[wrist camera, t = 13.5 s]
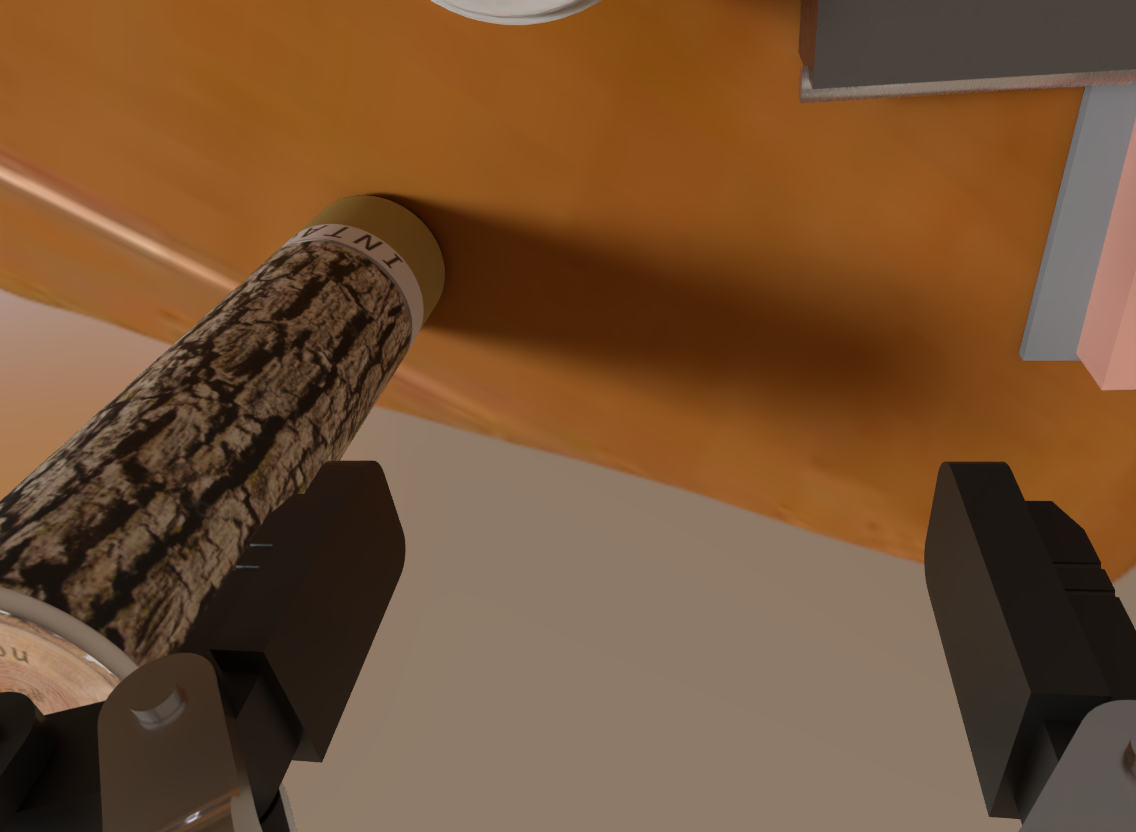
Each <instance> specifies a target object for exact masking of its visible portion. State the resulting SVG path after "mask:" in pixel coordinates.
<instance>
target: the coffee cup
mask: <svg viewBox="0 0 1136 832" xmlns="http://www.w3.org/2000/svg"><path fill="white" fill-rule="evenodd" d="M431 1H433V2H434V3H436V4H438V5H440V6H442V7H444V8H446V9H448V10H450V11H452V12H455V13H457V14H460V15H463V16H465V17H468V18H471V19H475V20H479V21H483V22H487V23H495V24H503V25H530V24H538V23H546V22H550V21H554V20H558V19H562V18H565V17H568V16H570V15H573V14H576V13H578V12H581V11H583V10H585V9H587V8H589V7H591V6H593V5H594V4H596V3H598V2H600V1H601V0H431Z"/></svg>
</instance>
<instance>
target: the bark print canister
mask: <svg viewBox="0 0 1136 832" xmlns="http://www.w3.org/2000/svg"><path fill="white" fill-rule="evenodd" d="M444 282H445V266H444V260H443V256H442V253H441V250H440V248H439V245H438V243H437V241H436V239H435V238H434V236H433V235H432V233H431V232H430V230H429V229H428V228H427V226H426V225H425V224H424V223H423V222H422V221H421V220H420V219H419V218H418V217H417V216H416V215H414V214H413V213H412V212H410V211H409V210H407V209H406V208H404V207H403V206H401V205H399V204H397V203H395V202H393V201H390V200H388V199H384V198H381V197H376V196H368V195H358V196H351V197H347V198H343V199H341V200H338V201H336V202H334V203H332V204H330V205H329V206H328V207H326V208H325V209H324V210H323V211H322V212H320V213H319V214H318V215H317V216H316V217H315V218H314V219H313V220H312V221H311V222H309V223H308V224H307V225H306V226H305V227H304V228H303V229H302V230H301V231H300V232H298V233H297V234H296V235H294V236H293V237H292V238H291V239H290V240H289V241H288V242H286V243H285V244H284V245H283V246H282V247H281V248H280V249H279V250H278V251H276V252H275V253H274V254H273V255H272V256H271V257H270V258H269V259H268V260H267V261H265V262H264V263H263V264H262V265H261V266H260V267H259V268H258V269H257V270H255V271H254V272H253V273H252V274H251V275H250V276H249V277H248V278H247V279H246V280H244V281H243V282H242V283H241V284H240V285H239V286H238V287H237V288H236V289H234V290H233V291H232V292H231V293H230V294H229V295H228V296H227V297H226V298H225V299H223V300H222V301H221V302H220V303H219V304H218V305H217V306H216V307H215V308H213V309H212V310H211V311H210V312H209V313H208V314H207V315H206V316H205V317H203V318H202V319H201V320H200V321H199V322H198V323H197V324H196V325H195V326H194V327H192V328H191V329H190V330H189V331H188V332H187V333H186V334H185V335H184V336H182V337H181V338H180V339H179V340H178V341H177V342H176V343H175V344H174V345H173V346H171V347H170V348H169V349H168V350H167V351H166V352H165V353H164V354H163V355H161V356H160V357H159V358H158V359H157V360H156V361H155V362H154V363H153V364H152V365H150V367H148V368H147V369H146V370H145V371H144V372H143V373H142V374H140V375H139V376H138V377H137V378H136V379H135V380H134V381H133V382H132V383H131V384H130V385H128V386H127V387H126V388H125V389H124V390H123V391H122V392H121V393H119V394H118V395H117V396H116V397H115V398H114V399H113V400H112V401H111V402H110V403H108V404H107V405H106V406H105V407H104V408H103V409H102V410H101V411H100V412H98V413H97V414H96V415H95V416H94V417H93V418H92V419H91V420H90V421H88V422H87V423H86V424H85V425H84V426H83V427H82V428H81V429H80V430H79V431H77V432H76V433H75V434H74V435H73V436H72V437H71V438H70V439H69V440H67V442H65V443H64V444H63V445H62V446H61V447H60V448H59V449H58V450H56V451H55V452H54V453H53V454H52V455H51V456H50V457H49V458H48V459H47V460H45V461H44V462H43V463H42V464H41V465H40V466H39V467H38V468H37V469H35V470H34V471H33V472H32V473H31V474H30V475H29V476H28V477H27V478H25V479H24V480H23V481H22V482H21V483H20V484H19V485H18V486H17V487H16V488H14V489H13V490H12V491H11V492H10V493H9V494H8V495H7V496H6V497H4V498H3V499H2V500H1V501H0V692H18V693H22V694H25V695H26V696H27V697H29V698H30V699H31V700H32V701H33V703H34V704H35V705H36V706H37V707H38V709H39V710H40V711H41V712H42V713H43V715H47V714H51V713H55V712H59V711H64V710H68V709H72V708H76V707H80V706H85V705H89V704H93V703H97V702H101V701H105V700H106V699H107V698H108V696H109V695H110V693H111V692H112V691H113V690H114V688H115V687H116V686H117V685H118V684H119V683H120V682H121V681H122V680H123V679H124V678H126V677H127V676H128V675H129V674H131V673H132V672H133V671H135V670H136V669H138V668H139V667H141V666H142V665H144V664H146V663H148V662H150V661H152V660H155V659H157V658H160V657H162V656H166V655H170V654H176V653H178V652H179V651H180V650H181V648H182V647H183V645H184V644H185V642H186V640H187V639H188V637H189V636H190V634H191V633H192V631H193V630H194V628H195V627H196V625H197V623H198V622H199V620H200V619H201V617H202V616H203V614H204V613H205V611H206V610H207V608H208V607H209V605H210V603H211V602H212V600H213V599H214V597H215V596H216V594H217V593H218V591H219V590H220V588H221V586H222V585H223V583H224V582H225V580H226V579H227V577H228V576H229V574H230V573H231V571H232V570H235V569H236V563H237V562H238V560H239V559H240V557H241V556H242V554H243V552H244V551H245V549H246V548H250V542H251V540H252V539H253V537H254V536H255V534H256V532H257V531H258V529H259V528H260V526H261V525H262V523H263V522H264V520H265V519H266V517H267V516H268V515H269V514H271V513H272V512H273V511H274V510H275V509H276V508H278V507H279V506H280V505H281V504H282V503H284V502H285V501H286V500H287V499H288V498H289V497H291V496H292V495H293V494H304V493H305V492H306V490H307V488H308V487H309V485H310V484H311V482H312V480H313V479H314V477H315V475H316V474H317V472H318V471H319V469H320V467H321V466H322V465H323V464H324V463H325V462H327V461H340V459H341V457H342V456H343V454H344V453H345V451H346V449H347V448H348V446H349V445H350V443H351V441H352V440H353V438H354V437H355V435H356V433H357V432H358V430H359V429H360V427H361V425H362V424H363V422H364V421H365V419H366V417H367V416H368V414H369V413H370V411H371V409H372V408H373V406H374V405H375V403H376V401H377V400H378V398H379V397H380V395H381V393H382V392H383V390H384V389H385V387H386V386H387V384H388V382H389V381H390V379H391V378H392V376H393V374H394V373H395V371H396V370H397V368H398V366H399V365H400V363H401V362H402V360H403V358H404V357H405V355H406V354H407V352H408V350H409V349H410V347H411V346H412V344H413V342H414V341H415V339H416V337H417V336H418V334H419V332H420V330H421V329H422V327H423V325H424V324H425V322H426V321H427V319H428V317H429V316H430V314H431V313H432V311H433V309H434V308H435V306H436V305H437V303H438V301H439V299H440V297H441V294H442V291H443V287H444Z"/></svg>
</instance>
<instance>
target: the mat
mask: <svg viewBox="0 0 1136 832" xmlns="http://www.w3.org/2000/svg"><path fill="white" fill-rule="evenodd" d="M1135 119H1136V79H1135V81H1134V82H1133V83H1131V84H1116V85H1100V86H1085V90H1084V94H1083V98H1082V102H1081V106H1080V110H1079V114H1078V118H1077V122H1076V126H1075V130H1074V134H1073V138H1072V142H1071V146H1070V150H1069V154H1068V158H1067V162H1066V166H1065V170H1064V174H1063V178H1062V182H1061V186H1060V190H1059V194H1058V198H1057V202H1056V207H1055V211H1054V215H1053V219H1052V223H1051V227H1050V231H1049V235H1048V239H1047V243H1046V247H1045V251H1044V255H1043V259H1042V263H1041V267H1040V271H1039V275H1038V279H1037V283H1036V287H1035V291H1034V295H1033V299H1032V303H1031V307H1030V311H1029V315H1028V319H1027V323H1026V327H1025V331H1024V335H1023V339H1022V343H1021V347H1020V351H1019V355H1020V357H1021V358H1022V360H1023V361H1064V360H1080V358H1079V357H1078V355H1077V354H1076V352H1077V348H1078V344H1079V340H1080V336H1081V332H1082V328H1083V324H1084V320H1085V316H1086V312H1087V308H1088V305H1089V301H1090V297H1091V293H1092V289H1093V285H1094V281H1095V277H1096V273H1097V269H1098V265H1099V261H1100V257H1101V253H1102V249H1103V245H1104V241H1105V237H1106V233H1107V230H1108V226H1109V222H1110V218H1111V214H1112V210H1113V206H1114V202H1115V198H1116V194H1117V190H1118V186H1119V182H1120V178H1121V174H1122V170H1123V166H1124V162H1125V158H1126V154H1127V151H1128V147H1129V143H1130V139H1131V135H1132V131H1133V127H1134V123H1135Z"/></svg>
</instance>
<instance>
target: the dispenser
mask: <svg viewBox="0 0 1136 832" xmlns="http://www.w3.org/2000/svg"><path fill="white" fill-rule="evenodd" d="M799 54H800V57H801V60H802V62H803V65H804V66H801V70H800V81H799V102H800V103H814V102H831V101H848V100H865V99H881V98H898V97H915V96H932V95H949V94H965V93H982V92H999V91H1016V90H1032V89H1049V88H1066V87H1083V86H1100V85H1116V84H1131V83H1133V82H1134V81H1135V79H1136V0H802V3H801V20H800V37H799Z"/></svg>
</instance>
